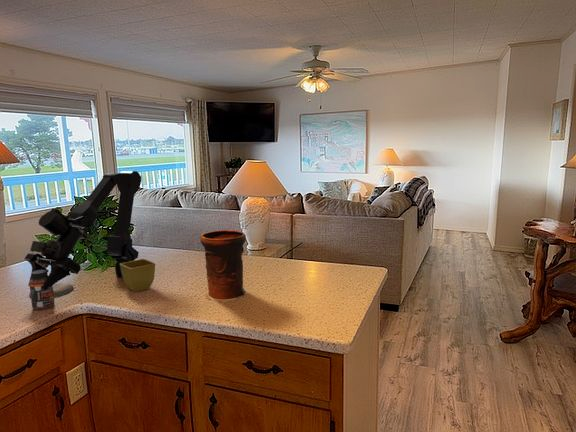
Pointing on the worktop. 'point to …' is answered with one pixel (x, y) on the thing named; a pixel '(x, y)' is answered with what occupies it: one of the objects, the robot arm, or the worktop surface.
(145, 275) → the flower pot
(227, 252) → the vessel
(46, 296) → the supplement bottle
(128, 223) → the robot arm
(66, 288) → the coaster
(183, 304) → the worktop surface
